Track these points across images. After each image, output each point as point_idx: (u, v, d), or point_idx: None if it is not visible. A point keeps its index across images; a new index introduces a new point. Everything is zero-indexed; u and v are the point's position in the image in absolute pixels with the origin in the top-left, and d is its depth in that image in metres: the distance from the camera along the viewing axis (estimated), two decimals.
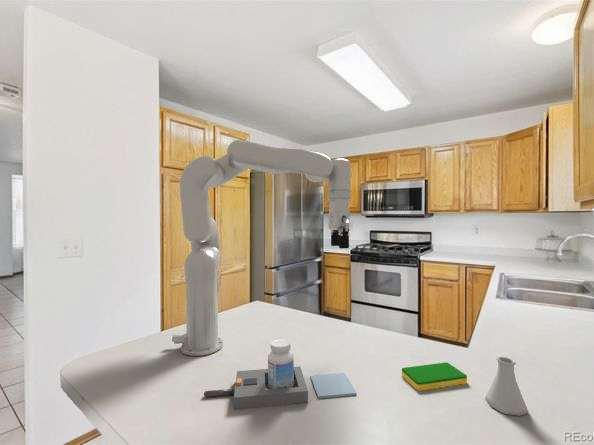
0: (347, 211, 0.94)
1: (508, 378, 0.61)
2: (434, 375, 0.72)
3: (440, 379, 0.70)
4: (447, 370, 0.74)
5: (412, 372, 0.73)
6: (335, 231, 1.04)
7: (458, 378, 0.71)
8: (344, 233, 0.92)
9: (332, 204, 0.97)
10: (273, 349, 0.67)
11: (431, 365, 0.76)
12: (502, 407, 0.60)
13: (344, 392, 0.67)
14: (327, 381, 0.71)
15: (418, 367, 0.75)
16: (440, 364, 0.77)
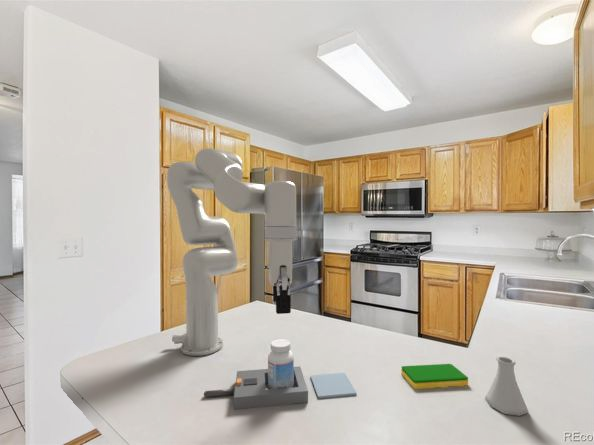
0: (288, 258, 0.64)
1: (508, 378, 0.61)
2: (434, 374, 0.72)
3: (438, 379, 0.70)
4: (448, 371, 0.73)
5: (411, 371, 0.74)
6: None
7: (458, 379, 0.70)
8: (282, 292, 0.62)
9: (269, 246, 0.67)
10: (273, 349, 0.67)
11: (432, 365, 0.76)
12: (502, 407, 0.60)
13: (344, 392, 0.67)
14: (327, 381, 0.71)
15: (419, 366, 0.76)
16: (443, 365, 0.76)
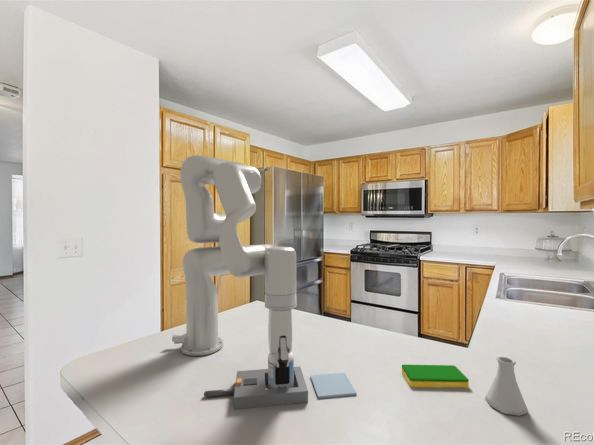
0: (288, 328, 0.64)
1: (508, 378, 0.61)
2: (432, 374, 0.72)
3: (436, 379, 0.70)
4: (449, 372, 0.73)
5: (411, 369, 0.74)
6: None
7: (457, 381, 0.70)
8: (281, 365, 0.63)
9: (269, 313, 0.67)
10: None
11: (434, 366, 0.76)
12: (502, 407, 0.60)
13: (344, 392, 0.67)
14: (327, 381, 0.71)
15: (419, 366, 0.76)
16: (445, 366, 0.76)
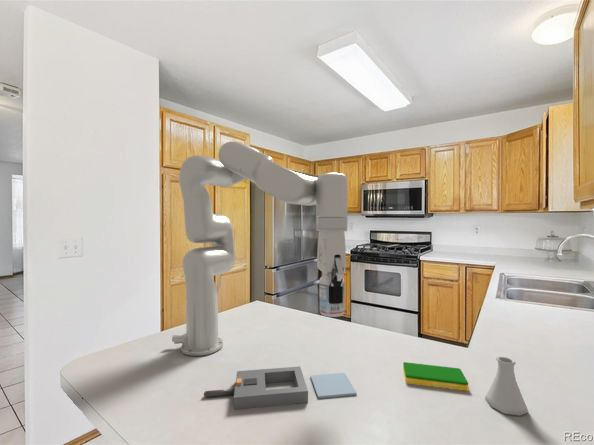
0: (342, 248, 0.66)
1: (508, 378, 0.61)
2: (431, 374, 0.72)
3: (433, 378, 0.70)
4: (450, 374, 0.72)
5: (410, 367, 0.75)
6: None
7: (455, 383, 0.69)
8: (336, 283, 0.65)
9: (321, 236, 0.69)
10: None
11: (437, 366, 0.76)
12: (502, 407, 0.60)
13: (344, 392, 0.67)
14: (327, 381, 0.71)
15: (421, 365, 0.76)
16: (449, 368, 0.75)
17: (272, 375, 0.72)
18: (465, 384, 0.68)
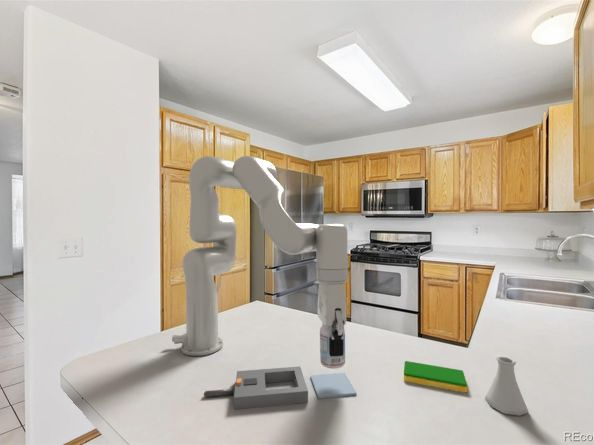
0: (342, 301, 0.66)
1: (508, 378, 0.61)
2: (430, 373, 0.72)
3: (431, 378, 0.70)
4: (450, 375, 0.71)
5: (410, 366, 0.76)
6: None
7: (454, 383, 0.68)
8: (336, 337, 0.65)
9: (322, 287, 0.69)
10: None
11: (439, 367, 0.75)
12: (502, 407, 0.60)
13: (344, 392, 0.67)
14: (327, 381, 0.71)
15: (422, 364, 0.77)
16: (451, 369, 0.74)
17: (272, 375, 0.72)
18: (464, 385, 0.68)
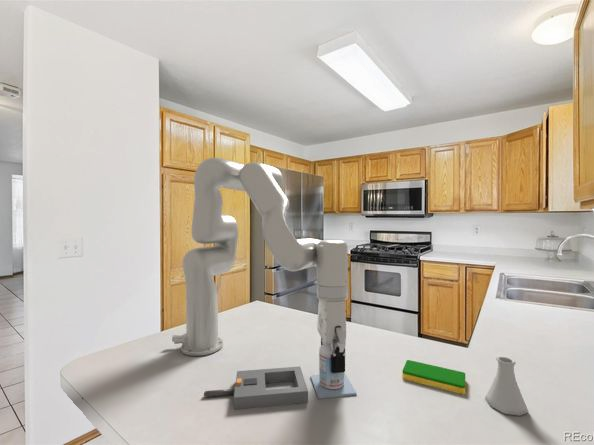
0: (342, 319, 0.66)
1: (508, 378, 0.61)
2: (429, 373, 0.72)
3: (428, 377, 0.71)
4: (450, 376, 0.71)
5: (411, 365, 0.77)
6: None
7: (451, 384, 0.68)
8: (338, 354, 0.64)
9: (322, 304, 0.69)
10: None
11: (440, 368, 0.75)
12: (502, 407, 0.60)
13: (344, 392, 0.67)
14: None
15: (424, 364, 0.77)
16: (452, 370, 0.73)
17: (272, 375, 0.72)
18: (461, 387, 0.67)
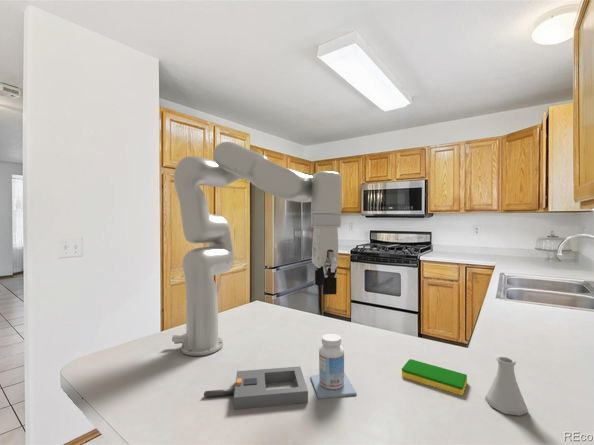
0: (335, 243, 0.69)
1: (508, 378, 0.61)
2: (428, 373, 0.73)
3: (427, 376, 0.71)
4: (449, 376, 0.71)
5: (412, 364, 0.77)
6: (321, 265, 0.79)
7: (449, 385, 0.68)
8: (330, 275, 0.67)
9: (315, 232, 0.72)
10: (325, 343, 0.69)
11: (442, 368, 0.75)
12: (502, 407, 0.60)
13: (344, 392, 0.67)
14: None
15: (426, 364, 0.77)
16: (454, 372, 0.73)
17: (272, 375, 0.72)
18: (459, 388, 0.67)
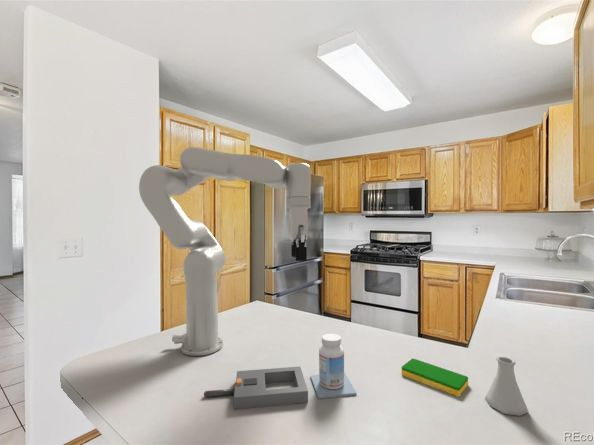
0: (305, 220, 0.86)
1: (508, 378, 0.61)
2: (428, 372, 0.73)
3: (425, 376, 0.71)
4: (448, 377, 0.70)
5: (413, 363, 0.78)
6: (296, 241, 0.96)
7: (446, 385, 0.68)
8: (300, 244, 0.84)
9: (290, 212, 0.89)
10: (325, 343, 0.69)
11: (443, 369, 0.74)
12: (502, 407, 0.60)
13: (344, 392, 0.67)
14: None
15: (427, 364, 0.77)
16: (455, 373, 0.72)
17: (272, 375, 0.72)
18: (455, 389, 0.66)
